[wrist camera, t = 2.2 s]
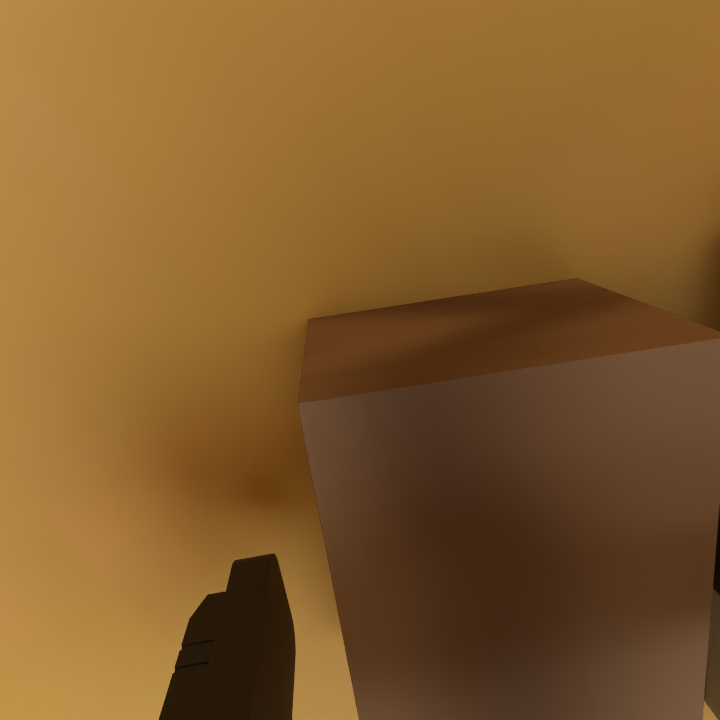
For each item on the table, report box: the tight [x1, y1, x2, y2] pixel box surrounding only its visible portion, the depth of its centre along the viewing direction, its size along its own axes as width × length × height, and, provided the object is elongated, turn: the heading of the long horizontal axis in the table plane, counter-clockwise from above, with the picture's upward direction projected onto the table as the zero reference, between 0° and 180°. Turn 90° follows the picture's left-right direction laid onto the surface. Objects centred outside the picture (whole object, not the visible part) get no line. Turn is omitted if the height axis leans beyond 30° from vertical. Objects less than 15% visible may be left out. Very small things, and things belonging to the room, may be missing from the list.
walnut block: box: [298, 278, 720, 720], centre depth 11 cm, size 6×9×5 cm, turn 8°
